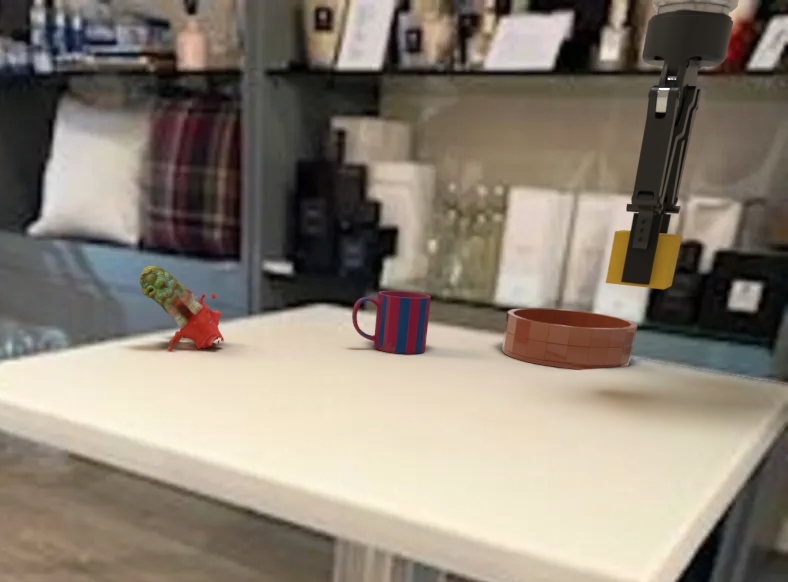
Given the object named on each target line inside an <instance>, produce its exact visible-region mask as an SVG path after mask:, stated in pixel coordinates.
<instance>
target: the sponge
mask: <svg viewBox="0 0 788 582" xmlns="http://www.w3.org/2000/svg"><path fill="white" fill-rule="evenodd" d="M630 231H631V230H627V229H622V230H615V231H614V235H613V240H612V245H611V251H610V255H609V256H610V257H609V261H608V268H607V272H606V273H607V274H606V279H605V284H611V285H620V286H629V287H630V286H631V287H639V288H648V289H657V290H665V289H668V288H670V287H672V285H673V281H674V277H675V270H676V266H677V261H678V257H679V253H680V247H681V243H682V238H683V235H682V234H674V233H667V234H664V233H660V234H659V238H658V243H657V248H656V253H655V258H654V263H653V268H652V273H651V278H650V283H649V285H644V284H634V283H625V282H621V279H622V274H623V269H624V263H625V258H626V253H627V247H628V242H629V236H630Z"/></svg>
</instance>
